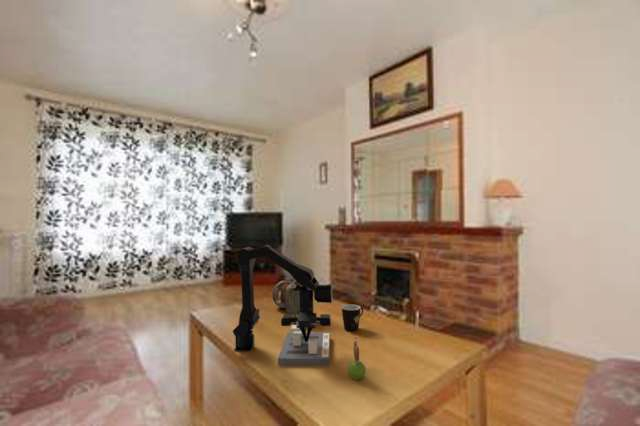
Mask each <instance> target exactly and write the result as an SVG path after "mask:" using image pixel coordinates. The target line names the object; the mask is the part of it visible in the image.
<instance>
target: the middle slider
mask: <svg viewBox="0 0 640 426" xmlns="http://www.w3.org/2000/svg"><path fill="white" fill-rule="evenodd" d="M301 343H302V332H301V330H300V331H294V333H293V346H301Z"/></svg>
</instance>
